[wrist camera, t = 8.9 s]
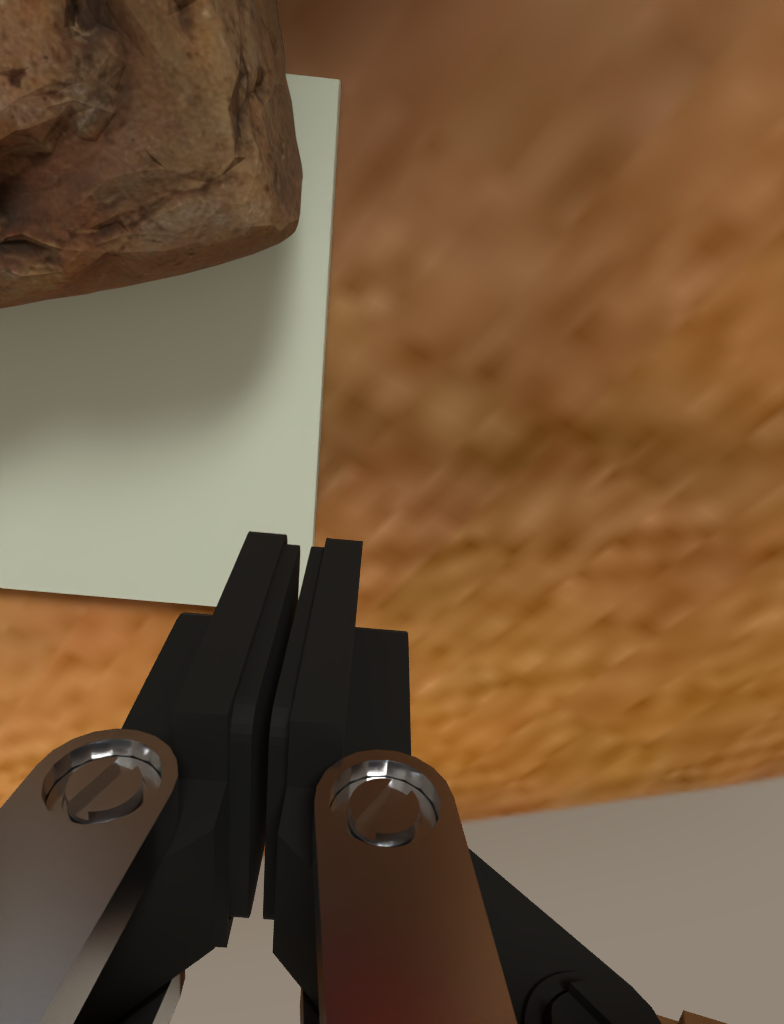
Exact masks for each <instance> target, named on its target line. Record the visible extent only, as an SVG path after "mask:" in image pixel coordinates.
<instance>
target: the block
mask: <svg viewBox="0 0 784 1024" xmlns="http://www.w3.org/2000/svg"><path fill="white" fill-rule="evenodd" d="M302 180H303V170H302V163H301V158H300V154H299V149H298V144H297V139H296V132H295V124H294V115H293V107H292V100H291V96H290V92H289V87H288V83H287V79H286V74H285V57H284V47H283V41H282V36H281V31H280V25H279V19H278V11H277V3H276V0H0V309H1V308H7V307H13V306H19V305H24V304H29V303H34V302H39V301H44V300H50V299H56V298H64V297H71V296H78V295H85V294H90V293H94V292H98V291H104V290H110V289H116V288H122V287H126V286H131V285H136V284H141V283H146V282H151V281H155V280H160V279H165V278H170V277H174V276H179V275H183V274H187V273H191V272H194V271H198V270H202V269H205V268H209V267H213V266H217V265H220V264H224V263H227V262H230V261H233V260H236V259H240V258H243V257H246V256H249V255H252V254H255V253H257V252H260V251H262V250H265V249H267V248H270V247H272V246H274V245H277V244H279V243H281V242H283V241H284V240H286V239H287V238H288V237H290V236H291V235H292V234H293V233H294V232H295V231H296V228H297V226H298V223H299V217H300V210H301V193H302Z"/></svg>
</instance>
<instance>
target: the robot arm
mask: <svg viewBox="0 0 784 1024" xmlns="http://www.w3.org/2000/svg"><path fill="white" fill-rule="evenodd" d="M362 545H363V541H353V540H342V539H331V538H327V539H326V543H325V548H324V547H313V546H311V549H310V553H309V557H308V561H307V566H306V570H305V574H304V578H303V582H302V587H301V591H300V595H299V599H298V592H299V572H300V545H291V544H288V540H287V535H286V534H275V533H264V532H253V531H249V532H248V534H247V536H246V539H245V541H244V543H243V546H242V548H241V550H240V553H239V555H238V557H237V560H236V562H235V564H234V567H233V569H232V571H231V574H230V576H229V578H228V581H227V583H226V585H225V588H224V590H223V592H222V595H221V597H220V599H219V602H218V604H217V606H216V609H215V611H214V613H213V615H208V614H197V613H185V612H184V613H182V614H180V616H179V617H178V619H177V620H176V622H175V624H174V626H173V628H172V630H171V632H170V634H169V636H168V638H167V640H166V642H165V644H164V646H163V648H162V650H161V652H160V654H159V656H158V658H157V660H156V662H155V663H154V665H153V667H152V669H151V671H150V673H149V675H148V677H147V679H146V681H145V683H144V685H143V687H142V689H141V691H140V693H139V695H138V697H137V699H136V701H135V703H134V705H133V707H132V709H131V711H130V713H129V715H128V717H127V719H126V721H125V723H124V725H123V727H122V728H121V729H111V730H104V731H96V732H92V733H89V734H86V735H83V736H80V737H77V738H74V739H72V740H70V741H68V742H67V743H65V744H63V745H61V746H60V747H58V748H56V749H54V750H53V751H52V752H51V753H49V754H48V755H47V756H46V757H45V758H44V759H43V760H42V761H41V762H40V763H38V764H37V765H36V767H35V768H34V769H33V770H32V771H31V773H30V774H29V775H28V776H27V777H26V778H25V780H24V781H23V782H22V783H21V784H20V786H19V787H18V788H17V789H16V790H15V792H14V793H13V794H12V795H11V796H10V797H9V799H8V800H7V801H6V802H5V803H4V805H3V806H2V807H1V808H0V1024H169V1022H170V1020H171V1017H172V1015H173V1013H174V1010H175V1008H176V1005H177V1003H178V1001H179V998H180V995H181V991H182V988H183V984H184V980H185V969H187V968H188V967H189V966H191V965H192V964H193V963H195V962H196V961H198V960H199V959H200V958H202V957H203V956H204V955H206V954H207V953H209V952H210V951H211V950H213V949H214V948H215V947H227V944H228V939H229V935H230V930H231V926H232V922H233V917H244V918H249V917H250V914H251V909H252V905H253V900H254V895H255V890H256V885H257V881H258V875H259V871H260V866H261V861H262V856H263V851H264V846H265V871H264V902H263V918H264V919H272V920H274V935H273V953H274V954H275V956H276V957H277V958H278V959H279V961H280V962H281V963H282V964H283V966H284V967H285V968H286V969H287V971H288V972H289V973H290V974H291V976H292V977H293V978H294V979H295V980H296V981H297V983H298V984H299V985H300V987H301V997H300V999H301V1000H300V1023H301V1024H726V1023H723V1022H720V1021H717V1020H713V1019H710V1018H707V1017H703V1016H700V1015H697V1014H693V1013H690V1012H687V1011H684V1010H683V1012H682V1015H681V1017H680V1019H679V1022H678V1021H675V1020H672V1019H669V1018H665V1017H662V1016H659V1015H656V1014H655V1012H654V1010H653V1009H652V1007H651V1006H650V1005H649V1004H648V1003H647V1002H646V1001H645V1000H644V999H643V998H642V997H641V996H640V995H639V994H638V993H637V992H636V991H635V990H634V988H633V987H632V986H631V985H629V984H628V983H627V982H626V981H624V979H622V978H621V977H620V976H619V975H618V974H616V973H615V972H614V971H613V970H612V969H611V968H609V967H608V966H607V965H606V964H604V963H603V962H602V961H601V960H600V959H599V958H597V957H596V956H595V955H594V954H593V953H591V952H590V951H589V950H588V949H587V948H586V947H584V946H583V945H582V944H581V943H580V942H579V941H577V940H576V939H575V938H574V937H573V936H572V935H570V934H569V933H568V932H567V931H566V930H565V929H563V928H562V927H561V926H560V925H559V924H557V923H556V922H555V921H554V920H553V919H552V918H550V917H549V916H548V915H547V914H546V913H544V912H543V911H542V910H541V909H540V908H539V907H537V906H536V905H535V904H534V903H533V902H531V901H530V900H529V899H528V898H527V897H525V896H524V895H523V894H522V893H521V892H520V891H518V890H517V889H516V888H515V887H514V886H512V885H511V884H510V883H509V882H508V881H507V880H505V879H504V878H503V877H502V876H501V875H499V874H498V873H497V872H496V871H495V870H494V869H492V868H491V867H490V866H489V865H487V863H485V862H484V861H483V860H482V859H481V858H479V857H478V856H477V855H476V854H475V853H473V852H472V851H471V850H470V849H469V848H468V846H467V842H466V839H465V835H464V832H463V828H462V824H461V821H460V817H459V814H458V810H457V807H456V803H455V799H454V797H453V794H452V792H451V790H450V788H449V786H448V784H447V782H446V781H445V780H444V779H443V777H442V776H441V775H440V774H439V773H438V772H437V771H436V770H435V769H434V768H433V767H431V766H430V765H428V764H426V763H425V762H423V761H421V760H420V759H418V758H416V757H414V756H411V731H410V689H409V647H408V633H407V632H406V631H395V630H383V629H371V628H360V627H355V623H356V612H357V601H358V590H359V578H360V567H361V556H362Z"/></svg>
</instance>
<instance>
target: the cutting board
mask: <svg viewBox="0 0 784 1024" xmlns="http://www.w3.org/2000/svg"><path fill="white" fill-rule="evenodd" d="M286 79H287V83H288V87H289V92H290V96H291V100H292V107H293V115H294V124H295V132H296V139H297V144H298V149H299V154H300V158H301V163H302V170H303V180H302V193H301V210H300V217H299V223H298V226H297V228H296V231H295V232H294V233H293V234H292V235H291V236H290V237H288V238H287V239H286V240H284V241H283V242H281V243H279V244H277V245H274V246H272V247H270V248H267V249H265V250H262V251H260V252H257V253H255V254H252V255H249V256H246V257H243V258H240V259H236V260H233V261H230V262H227V263H224V264H220V265H217V266H213V267H209V268H205V269H202V270H198V271H194V272H191V273H187V274H183V275H179V276H174V277H170V278H165V279H160V280H155V281H151V282H146V283H141V284H136V285H131V286H126V287H122V288H116V289H110V290H104V291H98V292H94V293H90V294H85V295H78V296H71V297H64V298H56V299H50V300H44V301H39V302H34V303H29V304H24V305H19V306H13V307H7V308H1V309H0V588H6V589H18V590H29V591H41V592H53V593H64V594H76V595H87V596H99V597H111V598H122V599H134V600H145V601H157V602H169V603H180V604H192V605H203V606H215V607H216V606H217V604H218V602H219V599H220V597H221V595H222V592H223V590H224V588H225V585H226V583H227V581H228V578H229V576H230V574H231V571H232V569H233V567H234V564H235V562H236V560H237V557H238V555H239V553H240V550H241V548H242V546H243V543H244V541H245V539H246V536H247V534H248V532H249V531H253V532H264V533H275V534H286V535H287V540H288V544H291V545H300V572H299V592H298V599H299V595H300V591H301V587H302V582H303V578H304V574H305V570H306V566H307V561H308V557H309V553H310V549H311V546H313V547H314V541H315V524H316V507H317V490H318V473H319V456H320V439H321V422H322V405H323V388H324V371H325V354H326V336H327V319H328V302H329V285H330V268H331V251H332V234H333V217H334V200H335V183H336V166H337V149H338V132H339V115H340V98H341V82H340V80H338V79H329V78H320V77H311V76H302V75H293V74H286Z"/></svg>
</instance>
